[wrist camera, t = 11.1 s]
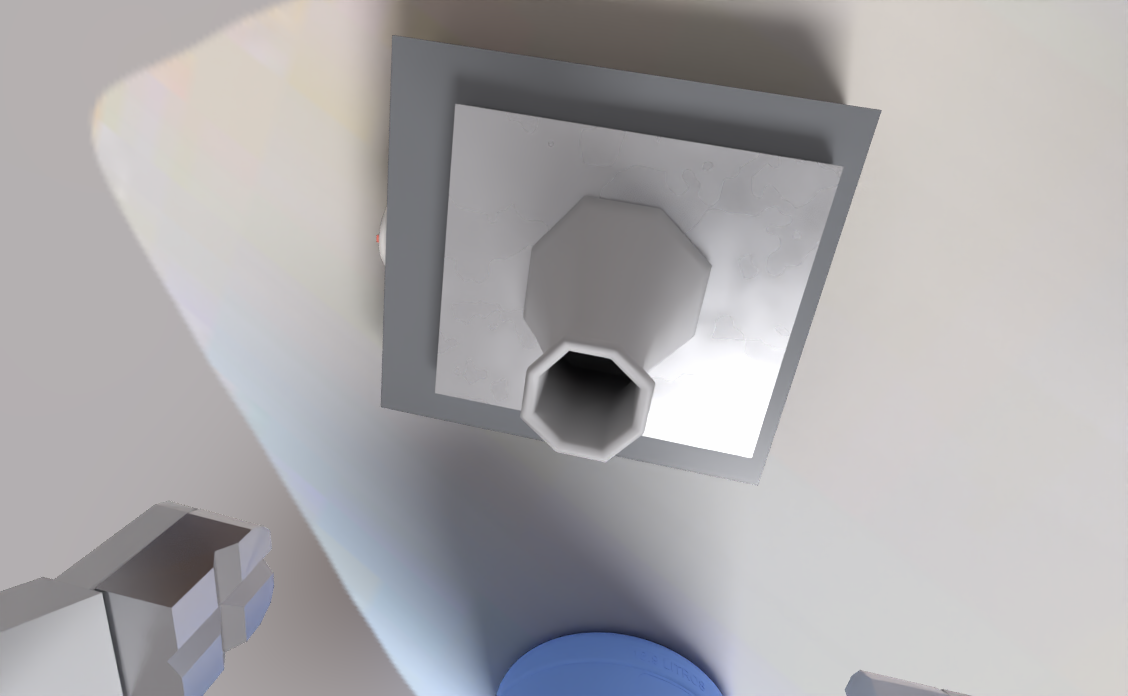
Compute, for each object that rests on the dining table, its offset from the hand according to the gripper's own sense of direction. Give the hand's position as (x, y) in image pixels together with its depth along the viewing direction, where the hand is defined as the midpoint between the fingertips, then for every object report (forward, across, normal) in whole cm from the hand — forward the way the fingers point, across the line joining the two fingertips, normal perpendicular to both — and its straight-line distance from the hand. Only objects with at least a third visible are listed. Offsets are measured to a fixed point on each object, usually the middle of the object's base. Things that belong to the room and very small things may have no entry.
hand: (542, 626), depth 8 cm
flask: (+17, 0, 0) cm, 17 cm away
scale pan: (+17, 0, 0) cm, 18 cm away
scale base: (+22, +2, 0) cm, 22 cm away
